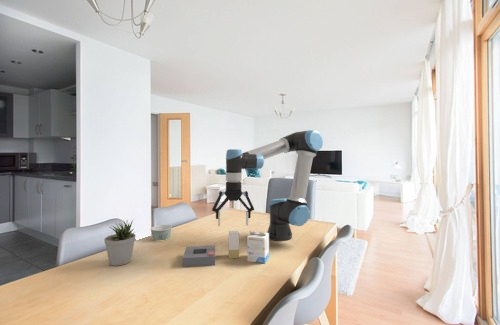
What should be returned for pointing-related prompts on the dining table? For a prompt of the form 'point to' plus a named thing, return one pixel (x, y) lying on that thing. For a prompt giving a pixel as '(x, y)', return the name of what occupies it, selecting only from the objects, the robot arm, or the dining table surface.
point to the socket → (199, 256)
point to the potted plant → (120, 245)
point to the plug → (233, 244)
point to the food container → (161, 232)
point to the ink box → (258, 247)
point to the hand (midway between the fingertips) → (233, 225)
